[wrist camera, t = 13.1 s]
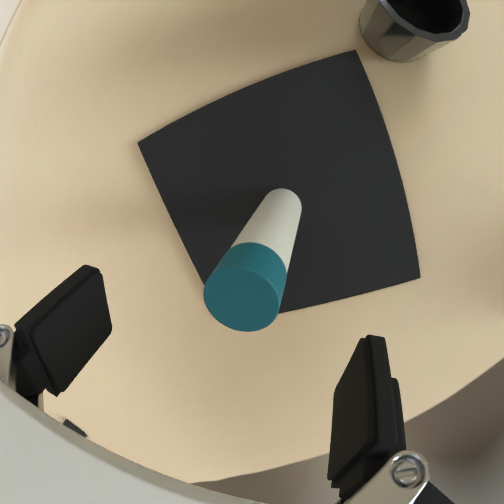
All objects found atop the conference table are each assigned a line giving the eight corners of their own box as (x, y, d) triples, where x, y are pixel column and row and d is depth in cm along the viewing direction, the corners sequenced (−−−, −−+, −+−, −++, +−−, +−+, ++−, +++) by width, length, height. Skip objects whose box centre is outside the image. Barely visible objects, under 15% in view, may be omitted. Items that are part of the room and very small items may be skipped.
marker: (256, 195, 25) (190, 277, 13) (294, 182, 23) (262, 257, 12) (270, 231, 26) (222, 336, 14) (307, 219, 24) (290, 324, 13)
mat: (139, 142, 25) (137, 142, 25) (354, 50, 18) (355, 49, 18) (225, 321, 32) (224, 324, 31) (419, 275, 25) (420, 277, 24)
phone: (60, 429, 68) (64, 420, 61) (61, 427, 69) (66, 418, 62) (79, 443, 69) (85, 436, 62) (80, 441, 70) (87, 434, 63)
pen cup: (346, 7, 16) (354, -37, 9) (410, -5, 14) (440, -44, 7) (376, 69, 18) (402, 48, 11) (439, 56, 16) (485, 37, 9)
